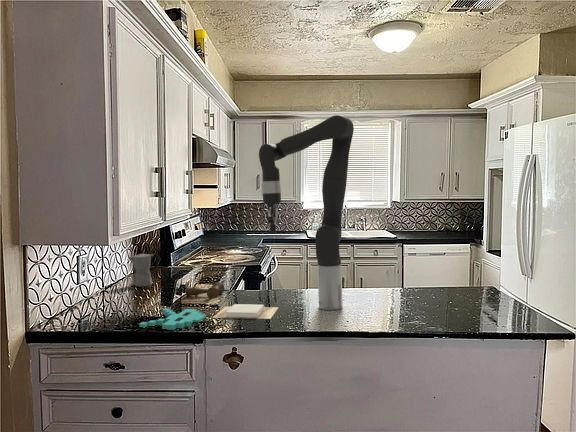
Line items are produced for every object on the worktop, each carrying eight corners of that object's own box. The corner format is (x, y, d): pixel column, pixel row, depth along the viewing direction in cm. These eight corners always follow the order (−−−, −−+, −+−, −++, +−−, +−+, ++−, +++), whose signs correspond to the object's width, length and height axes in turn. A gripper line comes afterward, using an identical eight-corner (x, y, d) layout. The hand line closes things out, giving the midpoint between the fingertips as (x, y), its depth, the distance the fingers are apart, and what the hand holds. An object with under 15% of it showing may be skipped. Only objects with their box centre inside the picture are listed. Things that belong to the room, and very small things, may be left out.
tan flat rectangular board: (278, 309, 181) (278, 307, 181) (270, 321, 166) (270, 318, 166) (225, 308, 185) (225, 306, 185) (212, 320, 170) (212, 317, 170)
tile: (264, 304, 178) (257, 312, 167) (264, 309, 178) (257, 318, 168) (234, 304, 180) (225, 312, 170) (234, 309, 181) (225, 317, 170)
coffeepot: (130, 288, 230) (128, 252, 228) (129, 284, 238) (127, 250, 237) (162, 284, 235) (160, 249, 234) (159, 281, 244) (158, 247, 243)
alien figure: (139, 329, 163) (191, 331, 159) (139, 323, 163) (191, 325, 159) (165, 313, 183) (212, 315, 179) (165, 308, 183) (212, 309, 179)
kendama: (190, 295, 213) (232, 294, 210) (183, 301, 204) (226, 300, 201) (189, 282, 212) (231, 281, 210) (182, 287, 203) (225, 286, 200)
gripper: (277, 192, 184) (278, 235, 185) (283, 191, 197) (285, 231, 198) (259, 192, 185) (260, 235, 187) (266, 192, 198) (268, 231, 200)
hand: (273, 233), depth 192 cm, fingers closed
